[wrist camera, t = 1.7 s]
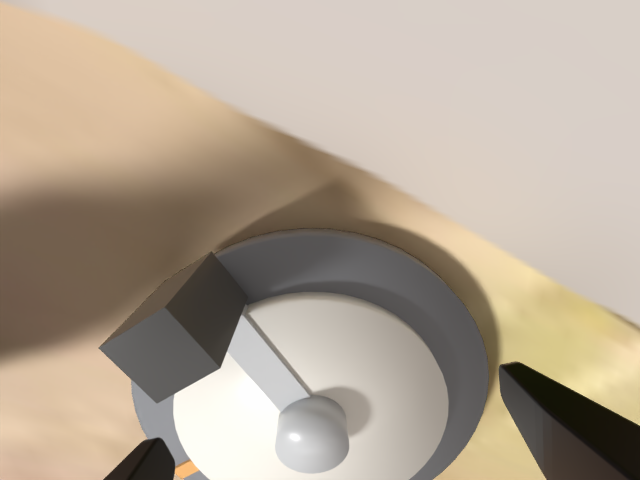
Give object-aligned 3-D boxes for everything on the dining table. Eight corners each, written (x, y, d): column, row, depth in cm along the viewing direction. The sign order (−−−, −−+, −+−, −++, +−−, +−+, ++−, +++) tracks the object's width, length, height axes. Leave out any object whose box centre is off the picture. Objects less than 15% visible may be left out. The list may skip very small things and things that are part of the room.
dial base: (69, 345, 20) (47, 363, 18) (377, 150, 16) (384, 152, 15) (271, 532, 26) (269, 559, 24) (524, 420, 23) (540, 442, 21)
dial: (482, 434, 21) (543, 542, 15) (278, 525, 23) (268, 646, 18) (324, 178, 15) (330, 204, 10) (77, 334, 17) (-28, 425, 12)
